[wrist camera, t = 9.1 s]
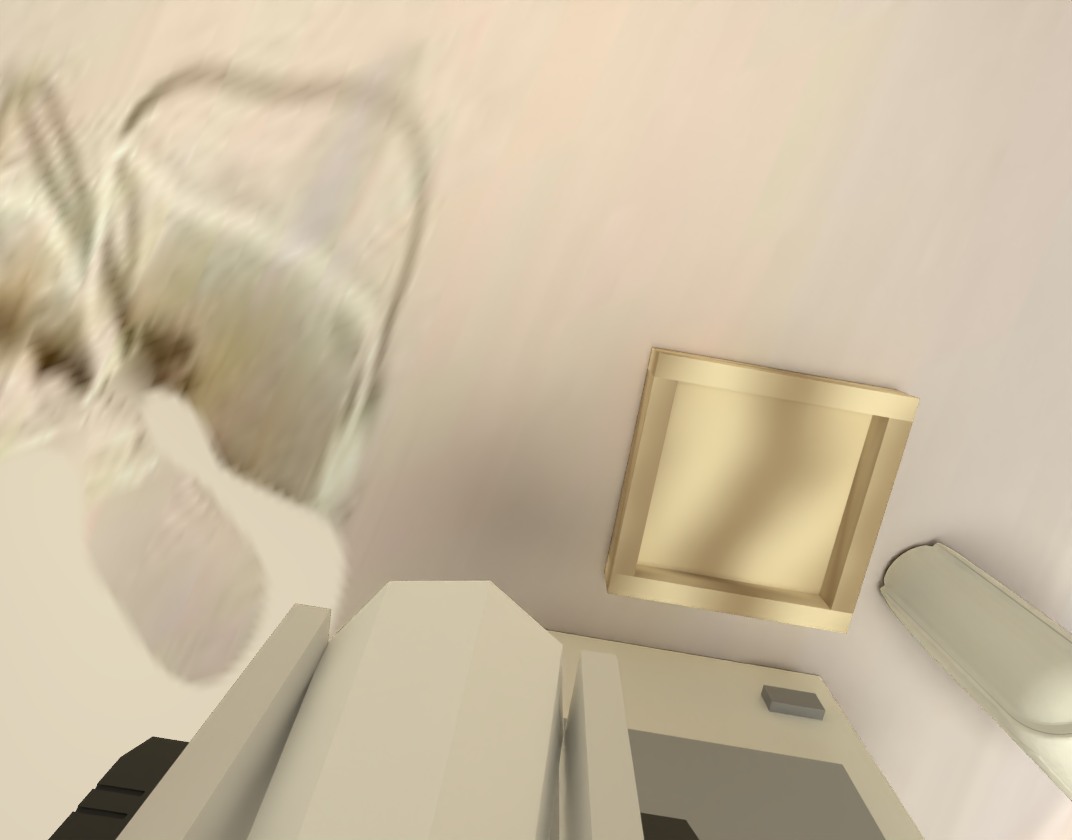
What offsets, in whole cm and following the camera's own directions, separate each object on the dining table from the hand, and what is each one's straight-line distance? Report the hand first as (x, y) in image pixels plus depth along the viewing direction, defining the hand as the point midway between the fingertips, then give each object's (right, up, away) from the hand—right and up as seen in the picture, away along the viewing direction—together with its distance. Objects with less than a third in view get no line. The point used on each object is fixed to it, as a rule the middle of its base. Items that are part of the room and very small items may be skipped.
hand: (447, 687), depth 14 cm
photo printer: (+22, -4, +18) cm, 29 cm away
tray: (+11, +3, +17) cm, 20 cm away
